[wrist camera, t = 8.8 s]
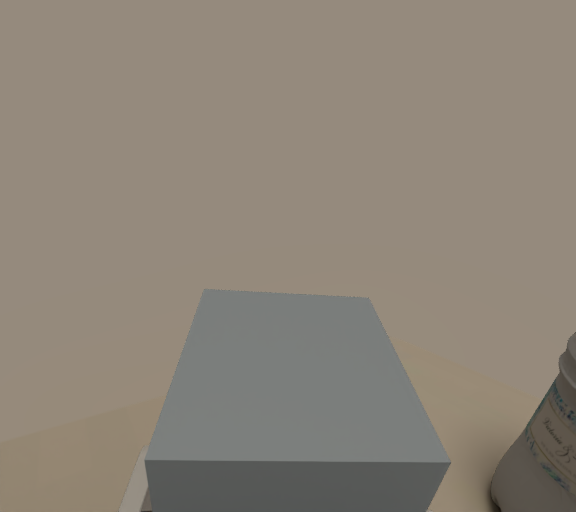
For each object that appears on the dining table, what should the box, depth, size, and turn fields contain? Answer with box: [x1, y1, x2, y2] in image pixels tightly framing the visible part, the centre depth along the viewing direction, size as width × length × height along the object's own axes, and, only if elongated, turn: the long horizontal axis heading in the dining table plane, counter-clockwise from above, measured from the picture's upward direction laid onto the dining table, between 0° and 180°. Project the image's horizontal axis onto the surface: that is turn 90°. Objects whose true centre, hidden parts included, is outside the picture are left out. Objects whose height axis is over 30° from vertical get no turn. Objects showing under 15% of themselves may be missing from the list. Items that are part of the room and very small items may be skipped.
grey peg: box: [144, 289, 451, 512], centre depth 9 cm, size 4×4×12 cm
